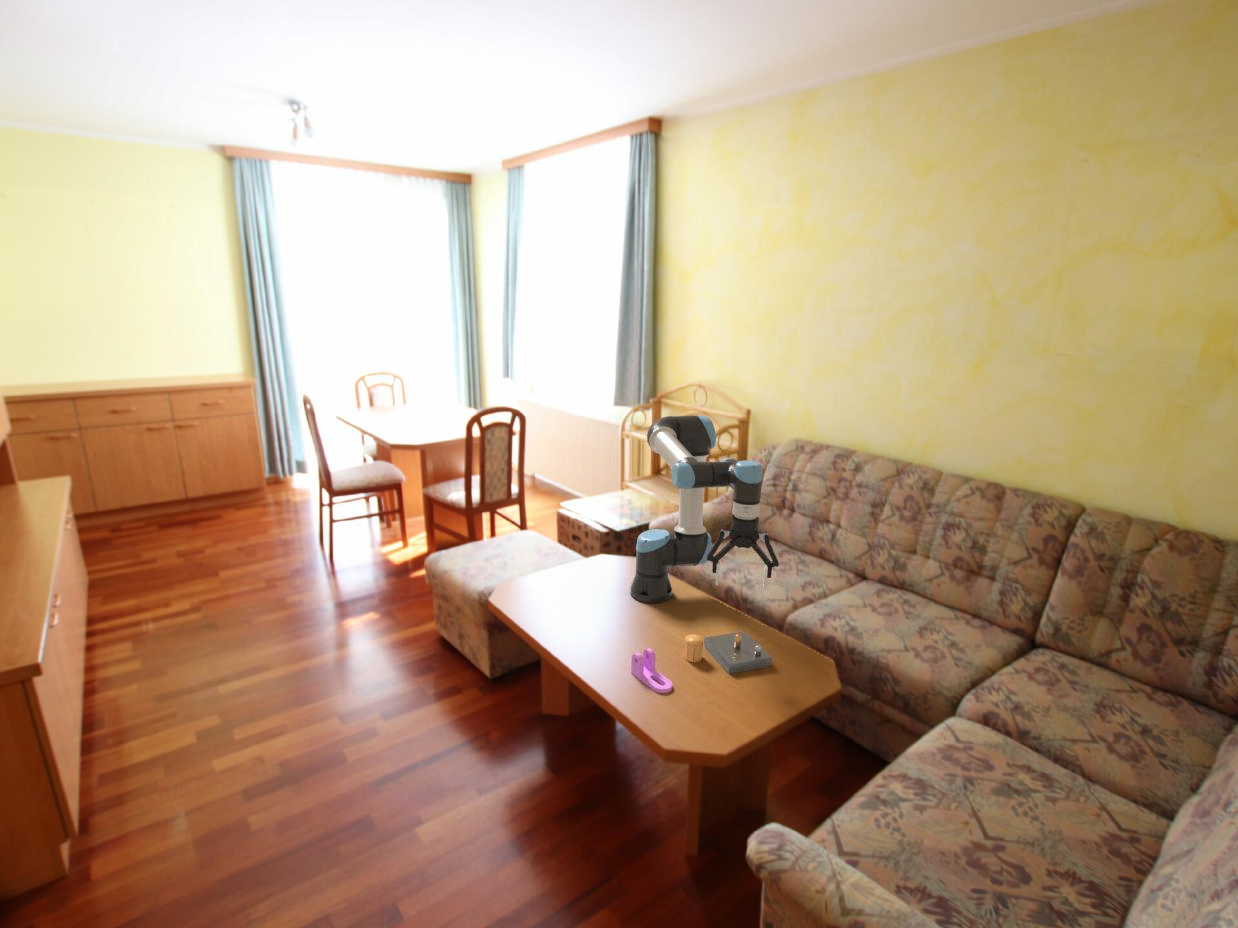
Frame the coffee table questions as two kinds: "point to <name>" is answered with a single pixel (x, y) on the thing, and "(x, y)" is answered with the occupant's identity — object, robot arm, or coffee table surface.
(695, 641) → the orange faceted knob
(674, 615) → the coffee table surface
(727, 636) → the block
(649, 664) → the bracket
